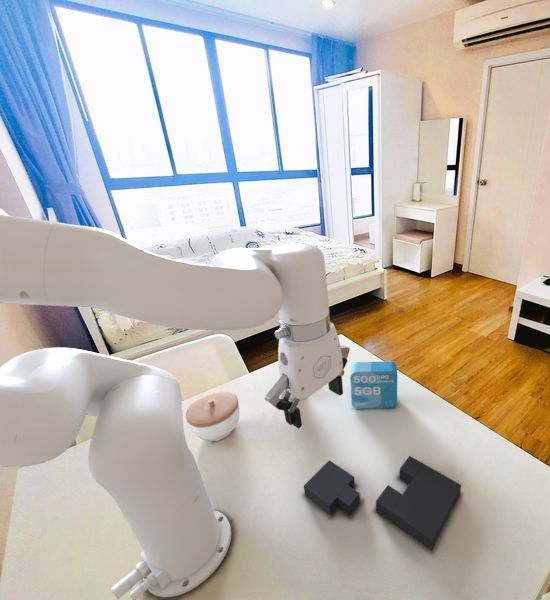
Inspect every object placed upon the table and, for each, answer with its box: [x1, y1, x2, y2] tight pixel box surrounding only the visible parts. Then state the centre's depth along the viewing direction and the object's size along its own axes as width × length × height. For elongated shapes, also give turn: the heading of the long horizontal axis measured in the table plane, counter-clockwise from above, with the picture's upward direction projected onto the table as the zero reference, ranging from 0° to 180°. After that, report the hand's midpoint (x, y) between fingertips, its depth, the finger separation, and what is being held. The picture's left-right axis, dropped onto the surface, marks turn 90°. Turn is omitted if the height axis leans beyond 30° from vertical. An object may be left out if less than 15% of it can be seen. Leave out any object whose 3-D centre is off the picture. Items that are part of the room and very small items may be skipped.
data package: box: [349, 360, 398, 410], centre depth 85 cm, size 12×4×12 cm, turn 94°
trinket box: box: [185, 390, 241, 442], centre depth 76 cm, size 11×11×9 cm
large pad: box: [375, 455, 462, 551], centre depth 62 cm, size 12×12×3 cm
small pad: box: [303, 459, 361, 517], centre depth 63 cm, size 7×10×3 cm
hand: (316, 406), depth 58 cm, fingers open, 9 cm apart
